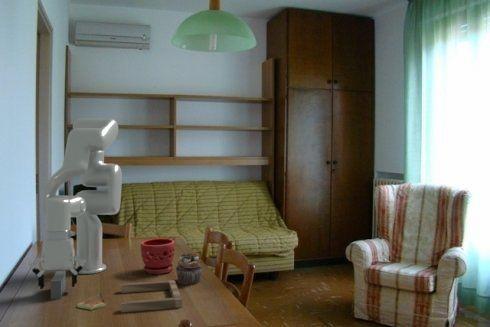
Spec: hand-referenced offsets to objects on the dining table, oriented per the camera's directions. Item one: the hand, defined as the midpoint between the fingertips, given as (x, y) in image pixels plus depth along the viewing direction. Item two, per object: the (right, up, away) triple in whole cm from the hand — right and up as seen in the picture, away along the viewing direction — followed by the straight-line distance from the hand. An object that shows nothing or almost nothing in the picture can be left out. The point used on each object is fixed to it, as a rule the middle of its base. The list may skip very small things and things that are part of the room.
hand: (57, 286), depth 146 cm
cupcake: (+42, -3, +15) cm, 44 cm away
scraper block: (0, -2, 0) cm, 2 cm away
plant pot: (+28, -2, +28) cm, 39 cm away
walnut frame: (+30, -3, -4) cm, 31 cm away
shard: (+14, -3, -9) cm, 17 cm away
